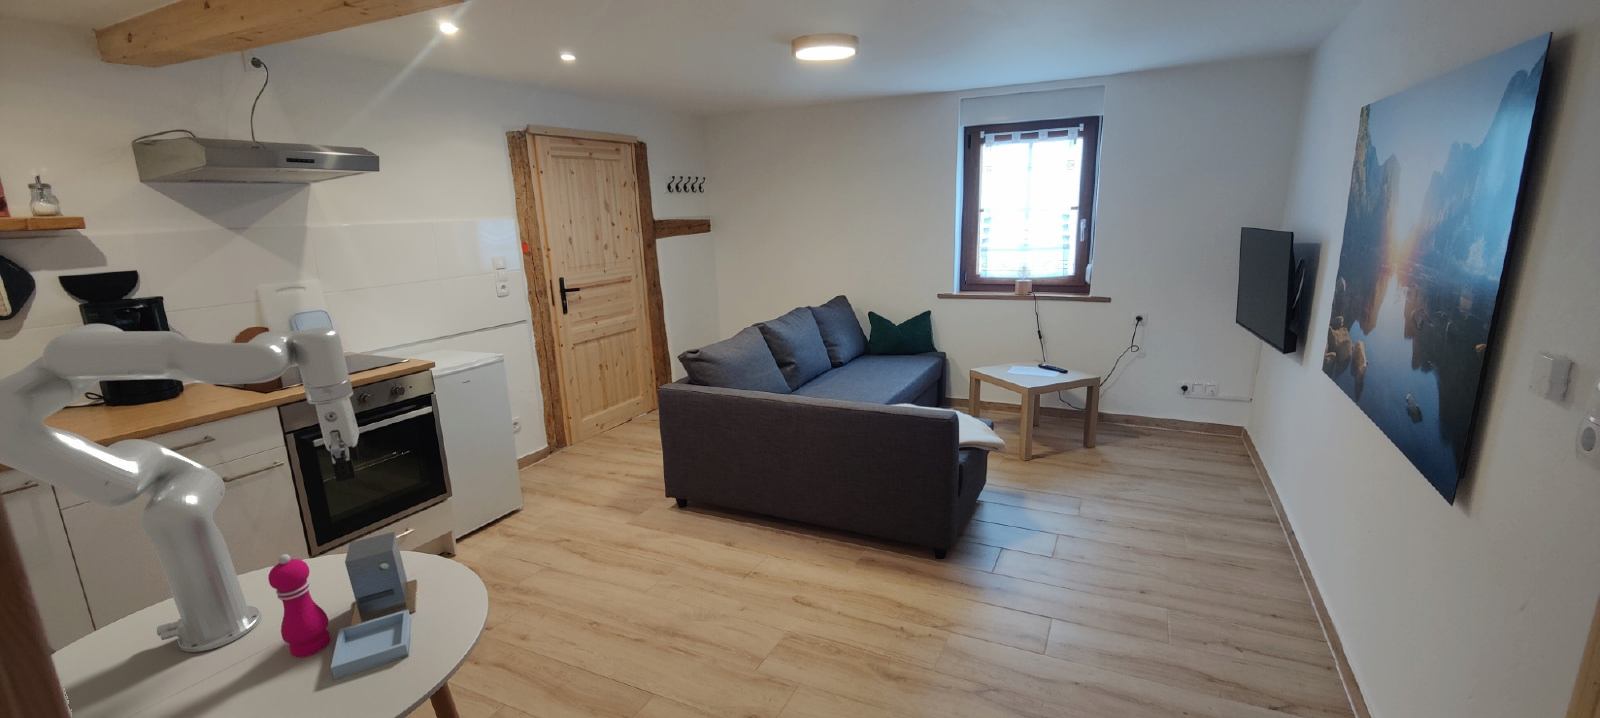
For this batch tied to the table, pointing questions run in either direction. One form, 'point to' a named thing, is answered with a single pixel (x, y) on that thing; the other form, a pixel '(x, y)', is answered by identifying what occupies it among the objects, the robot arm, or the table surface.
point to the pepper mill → (299, 608)
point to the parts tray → (371, 644)
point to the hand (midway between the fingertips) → (348, 469)
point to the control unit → (379, 578)
